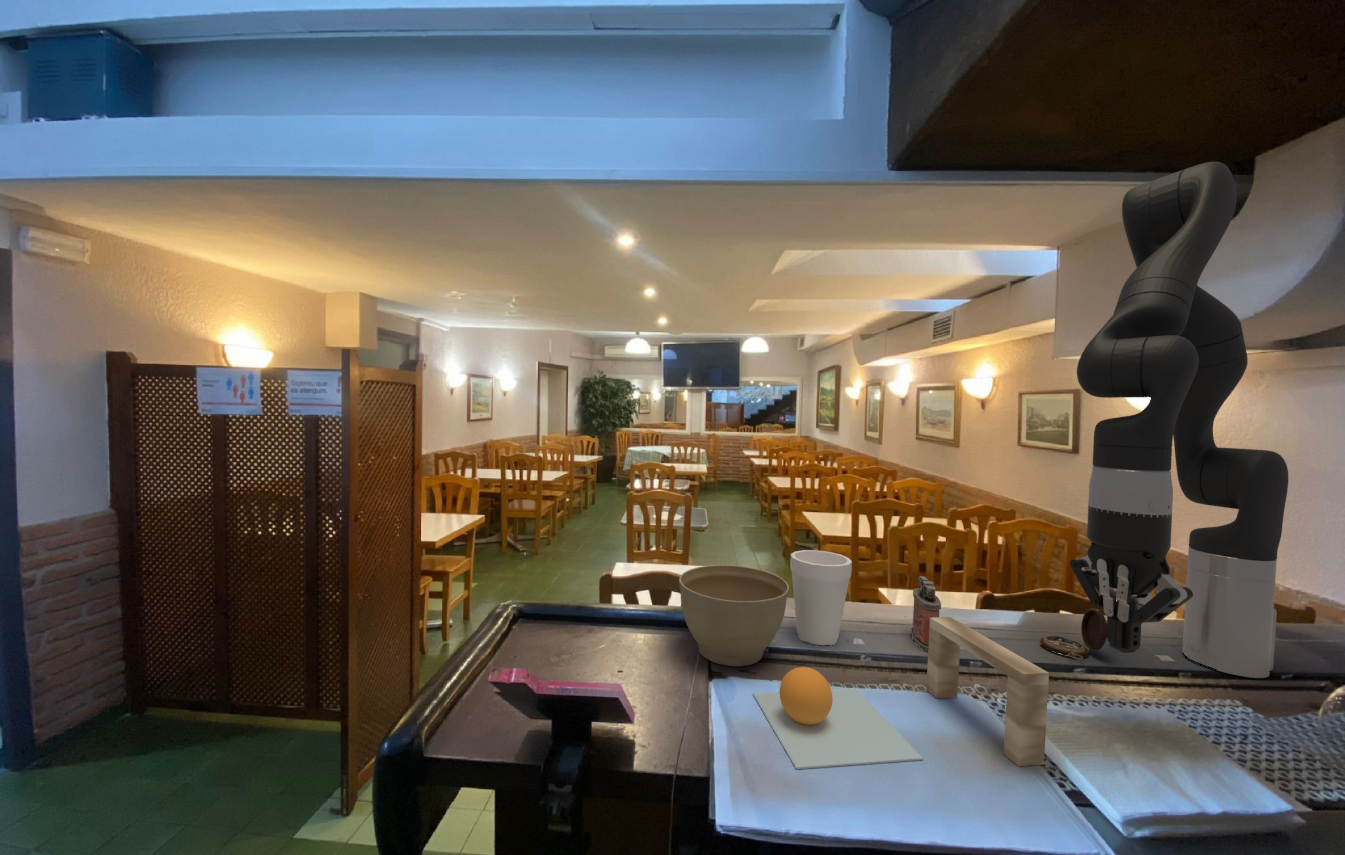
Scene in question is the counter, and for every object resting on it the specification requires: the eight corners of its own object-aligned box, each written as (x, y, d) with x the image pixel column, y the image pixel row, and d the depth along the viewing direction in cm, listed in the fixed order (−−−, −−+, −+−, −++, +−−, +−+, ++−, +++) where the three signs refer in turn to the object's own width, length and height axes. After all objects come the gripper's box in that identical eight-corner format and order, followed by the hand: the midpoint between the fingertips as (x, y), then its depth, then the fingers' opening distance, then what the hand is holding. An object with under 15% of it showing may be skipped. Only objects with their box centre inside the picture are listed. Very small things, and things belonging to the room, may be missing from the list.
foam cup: (848, 631, 87) (851, 554, 87) (847, 654, 79) (851, 569, 78) (790, 622, 90) (793, 547, 90) (783, 643, 82) (787, 561, 81)
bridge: (946, 689, 69) (950, 617, 69) (1043, 764, 55) (1049, 673, 54) (926, 690, 69) (929, 617, 69) (1018, 766, 54) (1023, 674, 54)
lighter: (943, 654, 80) (946, 589, 80) (919, 651, 81) (922, 587, 80) (928, 633, 88) (931, 574, 88) (907, 631, 89) (910, 572, 88)
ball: (828, 686, 64) (801, 648, 64) (851, 712, 58) (822, 670, 58) (790, 717, 64) (763, 679, 63) (809, 747, 58) (780, 704, 57)
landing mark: (855, 689, 68) (855, 688, 68) (923, 760, 55) (923, 758, 55) (752, 694, 66) (752, 693, 66) (796, 769, 52) (796, 767, 52)
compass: (1033, 640, 87) (1035, 596, 87) (1089, 647, 85) (1091, 603, 85) (1053, 661, 79) (1056, 613, 79) (1115, 670, 77) (1118, 621, 77)
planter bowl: (654, 650, 78) (656, 578, 77) (721, 622, 89) (724, 559, 89) (741, 693, 66) (745, 609, 66) (806, 655, 78) (809, 583, 78)
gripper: (1221, 517, 56) (1213, 675, 57) (1101, 496, 69) (1095, 625, 70) (1163, 518, 55) (1156, 680, 55) (1052, 497, 68) (1047, 628, 69)
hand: (1122, 649), depth 63 cm, fingers closed
